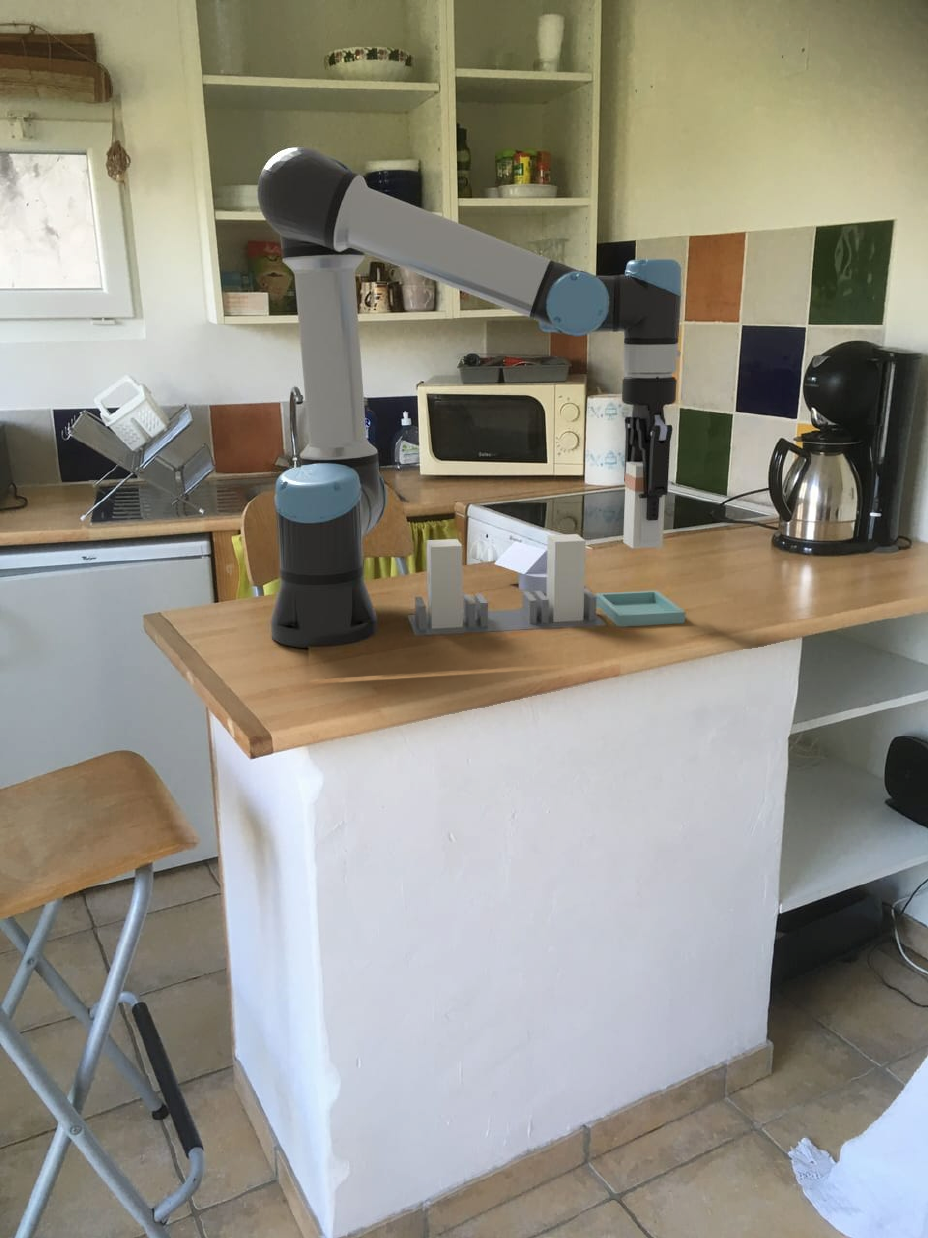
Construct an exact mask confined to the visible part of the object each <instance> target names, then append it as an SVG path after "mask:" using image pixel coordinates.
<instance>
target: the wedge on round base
mask: <svg viewBox="0 0 928 1238" xmlns="http://www.w3.org/2000/svg"><path fill="white" fill-rule="evenodd" d="M493 565H496V566H500V567H503V568H504V569H505V568H506V569H508V570H511V571H514V572H516V573H518V589H519V590H521V591H522V592H525V591H529V592H530V593H531V594H534V591H541V592H542V593H543V594H544V595H547V549H543V548H540V547H537V546H533V545H530V544H526V543H524V542H521V541H516V540H515V541H514V542H513V543H512V544H510V546H509V547H508V548H507V549H506V550H505V551H504V553H502V554H501V556H500V557H499V558H498V559H497V560H496V561H495V562H494V563H493Z"/></svg>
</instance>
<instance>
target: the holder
mask: <svg viewBox="0 0 928 1238" xmlns="http://www.w3.org/2000/svg"><path fill="white" fill-rule="evenodd" d="M521 592H522V595H521V597H522V599H521V600H522V601H521V604H522V605H521V606H522V607H521V608H517V609H504V610H503V609H501V610H499V609H498V610H489V602H488V601H487V599H486V598H485V597H484V595H483V594H482V593H475V594H474V598H473V597H472V596H471V594H470V593H469V594H468V593H466V594H463V627H452V628H434V629H432V628H431V625H430V623H429V621H428V613H427V606H426V605H427V604H426V603H425V601H424V599H423V597H422V596H414V614H408V615H407V618H408V621H409V624H410V627H411V629H412V631H413V634H414V636H416V637H417V636H434V635H435V636H438V635H453V634H454V635H455V634H470V633H473V634H474V633H487V632H488V633H489V632H490V633H491V632H492V633H493V632H507V631H508V632H509V631H526V630H541V629H542V630H543V629H544V630H545V629H560V628H576V627H577V628H579V627H580V628H581V627H593V626H595V627H596V626H597V627H599V626H607V623H606V622H605V621H604V620H603V619H602V618H600V616H599V615H598V614H597V605H596V601H597V597H596V596H595V594H594V593H593V592H591V590H589V589H588V587H587V588H585V587H584V611H583V620H580V621H562V622H553V621H552V620H551V618H550V617H549V616H548V613H549V599H548V598H547V597H546V594H543V593H542V592H541V591H534V593H530V592H529V591H521Z"/></svg>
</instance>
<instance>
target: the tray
mask: <svg viewBox="0 0 928 1238" xmlns="http://www.w3.org/2000/svg"><path fill="white" fill-rule="evenodd" d="M594 595H595V596H596V597H597V601H596V607H597V608H598V609H599V610H601V611H602V612H603V614H605V615H606V616H607V617H608V618H609V619H610V621H612V622H614V624H616V626H618V627H620V628H621V627H633V626H634V627H636V626H653V625H670V624H673V625H674V624H685V621H686V611H685V610H684V609H682V608H680V607H679V606H678V605H677V604H675V603H674V602H673V601H671V600H670V599H669V598H668V597H666V596H665V595H664V594H663V593H661V592H660V591H659V590H640V591H638V590H637V591H620V592H619V591H618V592H617V591H616V592H601V593H595V594H594Z"/></svg>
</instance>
